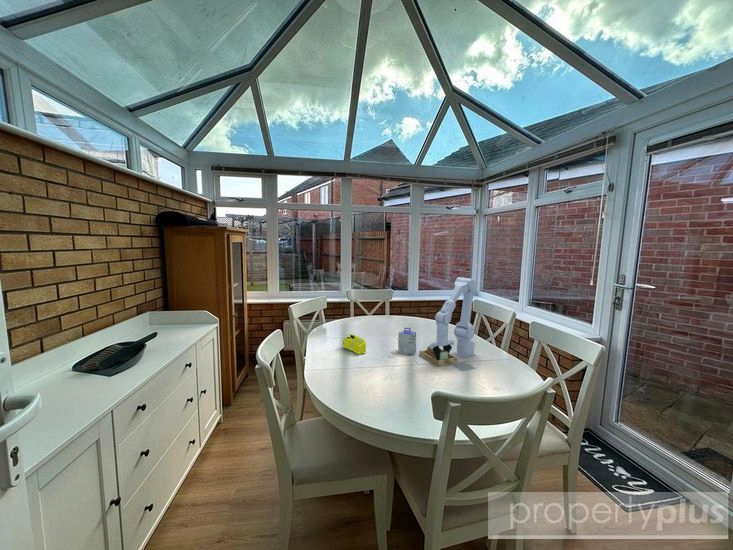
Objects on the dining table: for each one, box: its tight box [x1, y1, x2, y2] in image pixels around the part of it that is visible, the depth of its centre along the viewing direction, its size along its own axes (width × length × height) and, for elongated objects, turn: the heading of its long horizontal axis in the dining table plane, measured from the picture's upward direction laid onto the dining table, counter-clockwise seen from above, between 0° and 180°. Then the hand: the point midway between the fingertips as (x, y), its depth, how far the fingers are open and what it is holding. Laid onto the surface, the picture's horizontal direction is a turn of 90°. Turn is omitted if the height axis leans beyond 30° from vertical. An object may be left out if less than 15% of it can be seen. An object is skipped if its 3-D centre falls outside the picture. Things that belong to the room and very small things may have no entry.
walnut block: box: [426, 345, 436, 358], centre depth 167 cm, size 4×5×5 cm
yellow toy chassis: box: [342, 333, 367, 355], centre depth 177 cm, size 16×6×8 cm, turn 39°
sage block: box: [437, 348, 448, 361], centre depth 160 cm, size 4×4×6 cm
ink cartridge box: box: [397, 327, 417, 355], centre depth 173 cm, size 10×6×14 cm, turn 76°
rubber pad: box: [449, 361, 477, 372], centre depth 154 cm, size 9×9×1 cm
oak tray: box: [418, 349, 458, 367], centre depth 164 cm, size 13×17×3 cm
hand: (441, 359), depth 160 cm, fingers closed on sage block, 4 cm apart
